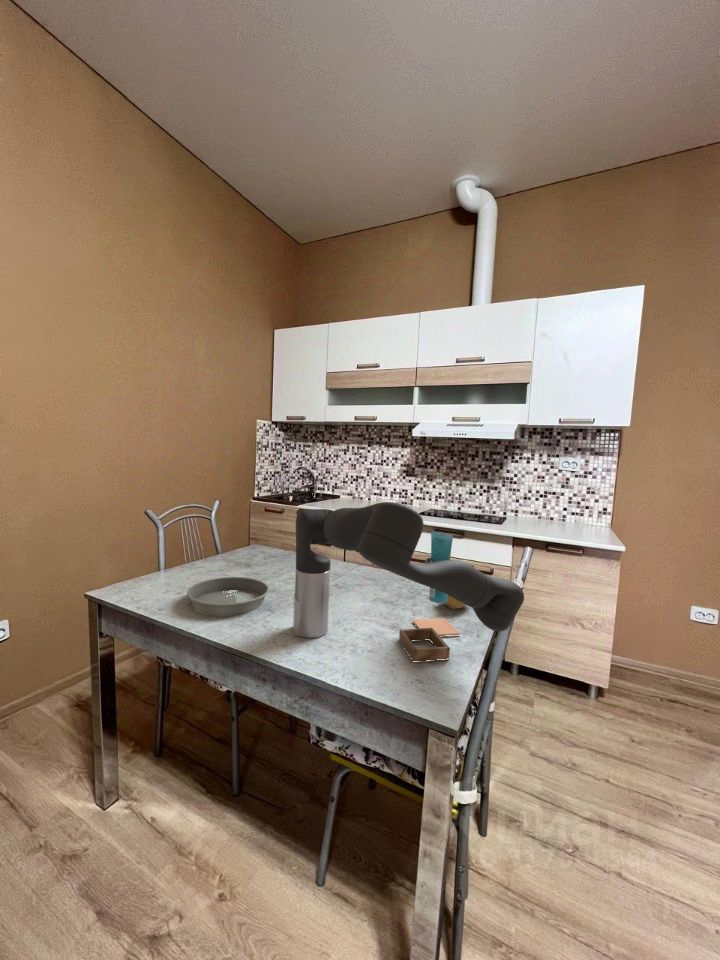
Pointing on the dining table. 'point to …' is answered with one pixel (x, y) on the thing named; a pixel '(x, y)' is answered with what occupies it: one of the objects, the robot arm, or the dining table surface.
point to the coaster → (437, 626)
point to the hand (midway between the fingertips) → (436, 561)
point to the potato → (453, 602)
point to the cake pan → (215, 602)
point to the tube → (440, 559)
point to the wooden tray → (424, 653)
